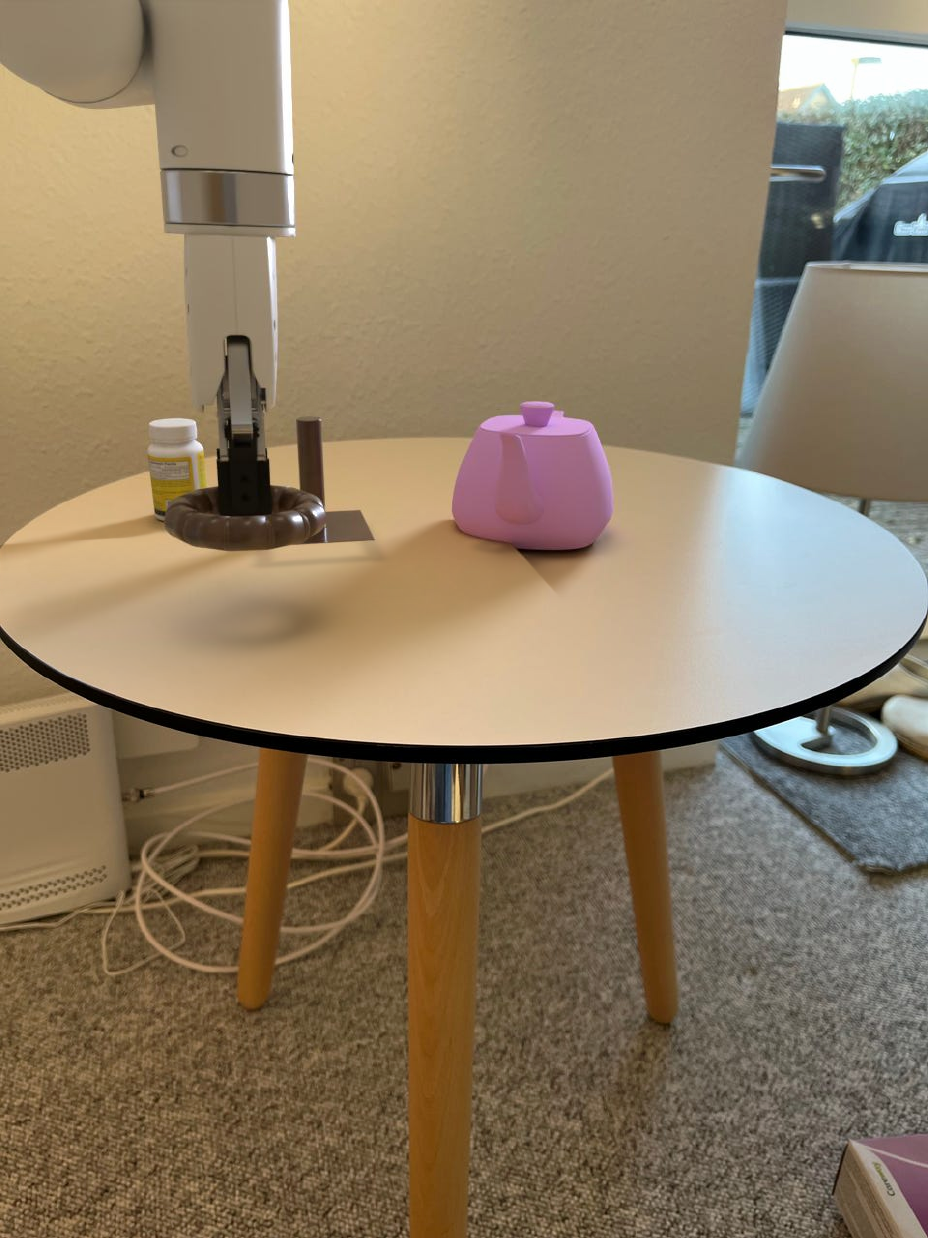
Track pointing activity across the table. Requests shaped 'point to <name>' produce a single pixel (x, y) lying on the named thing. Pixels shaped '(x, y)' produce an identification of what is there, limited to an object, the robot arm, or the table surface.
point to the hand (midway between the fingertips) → (245, 512)
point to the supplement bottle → (174, 461)
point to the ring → (245, 521)
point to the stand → (312, 481)
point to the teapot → (534, 481)
